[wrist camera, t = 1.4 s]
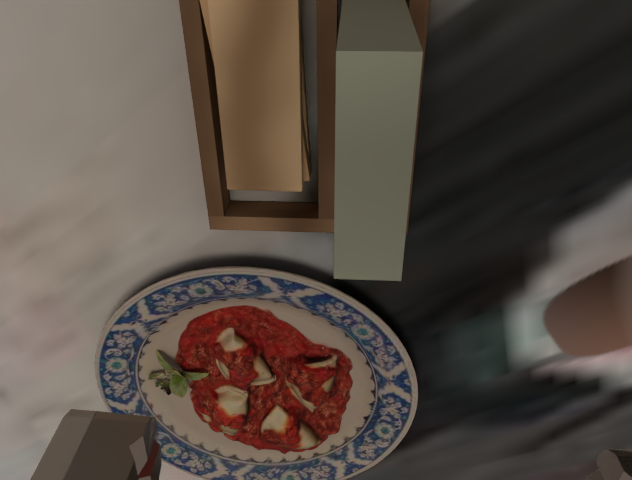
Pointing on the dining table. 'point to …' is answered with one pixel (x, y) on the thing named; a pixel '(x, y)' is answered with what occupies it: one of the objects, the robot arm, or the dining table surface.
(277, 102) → the offcut stack
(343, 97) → the grey-green rectangular block
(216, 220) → the walnut rack
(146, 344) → the ceramic plate
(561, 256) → the dining table surface
